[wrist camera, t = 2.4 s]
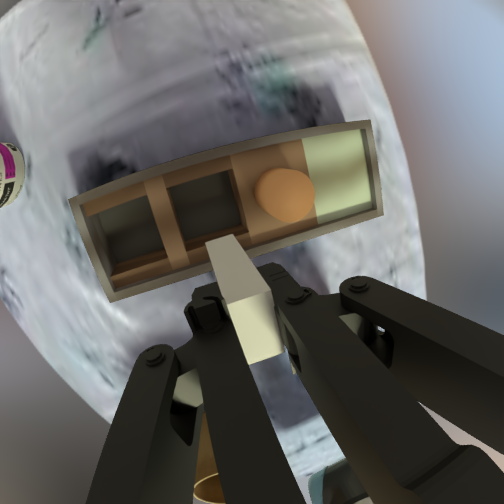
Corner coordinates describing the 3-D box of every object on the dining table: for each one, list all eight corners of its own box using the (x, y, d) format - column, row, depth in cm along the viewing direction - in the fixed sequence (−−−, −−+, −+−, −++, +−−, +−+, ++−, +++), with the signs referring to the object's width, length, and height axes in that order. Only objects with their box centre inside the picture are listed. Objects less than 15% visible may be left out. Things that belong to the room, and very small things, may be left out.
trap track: (359, 206, 38) (383, 215, 33) (118, 282, 33) (110, 302, 28) (346, 122, 34) (370, 119, 29) (84, 192, 29) (68, 199, 24)
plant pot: (255, 433, 49) (279, 496, 35) (182, 437, 45) (192, 506, 31) (269, 385, 45) (302, 458, 30) (181, 388, 41) (190, 472, 26)
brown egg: (302, 207, 31) (318, 214, 28) (260, 219, 31) (271, 228, 27) (293, 163, 29) (309, 164, 26) (249, 174, 29) (259, 176, 25)
